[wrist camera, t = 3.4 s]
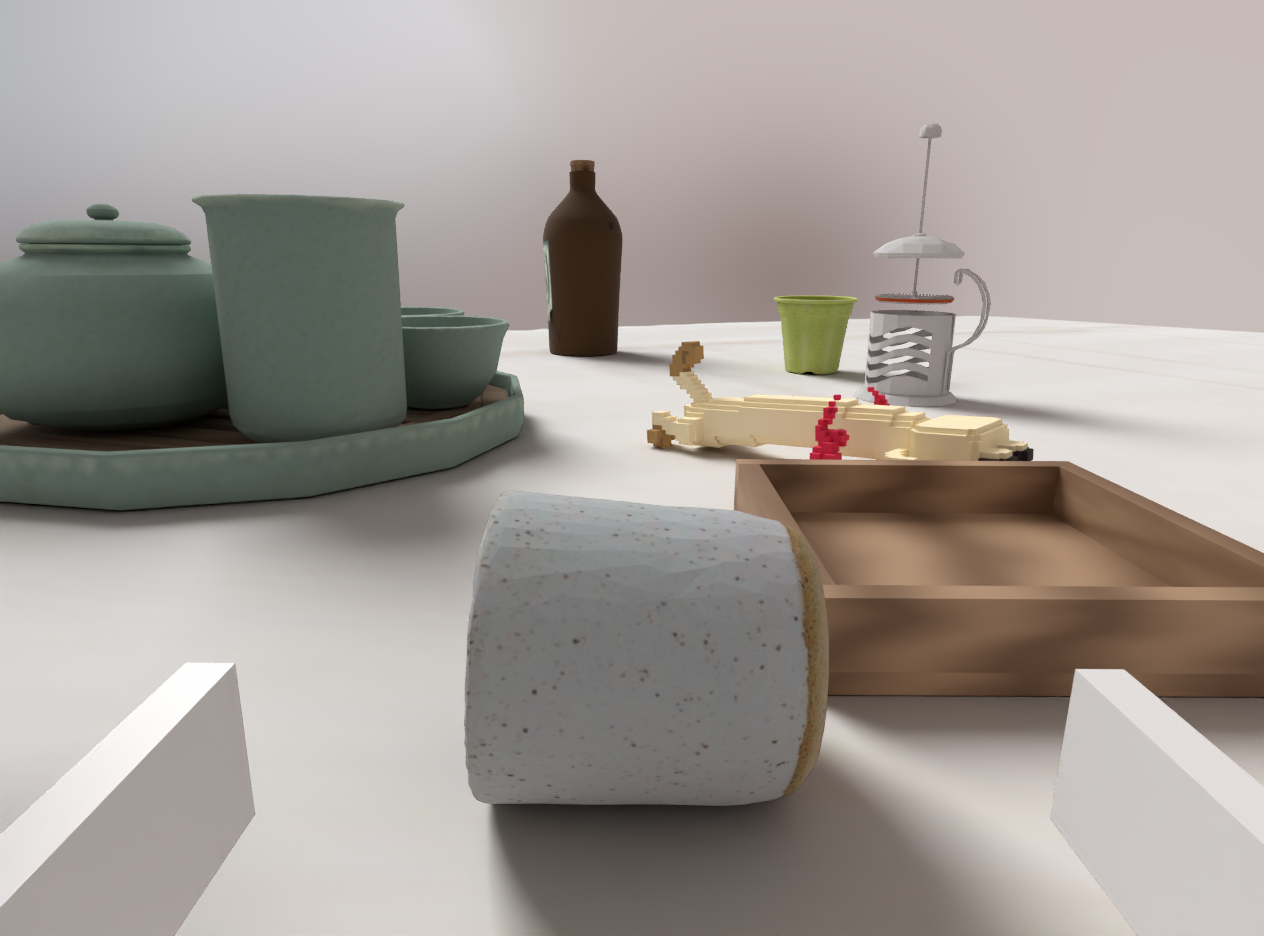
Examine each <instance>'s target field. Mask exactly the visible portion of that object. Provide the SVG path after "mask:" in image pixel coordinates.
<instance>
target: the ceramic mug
mask: <svg viewBox="0 0 1264 936" xmlns="http://www.w3.org/2000/svg"><path fill="white" fill-rule="evenodd" d="M828 682H829V632H828V621H827V612H826V604H825V595H824V589H823V584H822V580H821V575H820V572H819V568H818V565H817V562H816V559H815V557H814V554H813V552H812V550H811V548H810V546H809V545H808V544H807V543H806V542H805V540H804V539H803V538H802V537H801V535H800V534H799V533H798V532H797V531H796V530H795V529H794V528H792V527H790V526H788V525H786V524H784V523H782V522H779V521H775V520H771V519H766V518H762V517H758V516H754V515H751V514H747V513H744V512H740V511H733V510H721V509H707V508H693V507H670V506H659V505H650V504H641V503H632V502H623V501H613V500H603V499H592V498H581V497H571V496H560V495H549V494H539V493H530V492H520V491H508V492H504V493H503V494H501V495H500V497H499V498H498V499H497V500H496V502H495V504H494V505H493V508H492V510H491V513H490V517H489V519H488V522H487V525H486V528H485V530H484V534H483V537H482V541H481V545H480V548H479V552H478V557H477V562H476V568H475V575H474V586H473V601H472V607H471V612H470V617H469V627H468V638H467V665H466V678H465V721H464V726H465V747H466V767H467V769H468V783H469V786H470V788H471V791H472V793H473V795H474V797H475V798H476V799H477V800H479V801H481V802H483V803H489V804H585V805H614V804H664V805H704V806H730V805H744V804H750V803H757V802H763V801H770V800H774V799H777V798H781V797H784V796H787V795H789V794H791V793H793V792H794V791H795V790H796V789H797V788H799V787H800V786H801V785H802V783H803V782H804V781H805V779H806V778H807V776H808V775H809V773H810V772H811V770H812V769H813V767H814V765H815V763H816V760H817V758H818V755H819V752H820V747H821V742H822V737H823V732H824V726H825V718H826V710H827V698H828Z"/></svg>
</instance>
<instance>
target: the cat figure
mask: <svg viewBox="0 0 1264 936" xmlns="http://www.w3.org/2000/svg"><path fill="white" fill-rule="evenodd" d="M675 352H676V355H672V358H673V363H670V376H673V380H675V381H677V385H680V389H687V394H690V398H694V402H693V403H691V405H686V406H684V417H683V418H678V420H676V416H670V411H656V412H652V425H653V429H650V430H647V439H648V443H653V446H656V447H660V448H666V447H669V446H671V440H674V439H676V441H679V444H683V445H699V446H709V447H718V448H720V447H724V446H728V445H741V446H751V447H758V446H761V445H765V444H776V445H786V446H797V447H807V448H813V452H812V453H810V460H842V456H850V457H860V458H870V459H876V460H934V461H1031V460H1033V449H1029V447H1028V443H1024V442H1021V441H1009V429H1007V424H1004V423H1002V419H998V418H993V417H975V416H957V415H949V416H940V417H937V418H934V419H931V420H930V418H927V417H925V413H923V412H907V411H905V406H890V403H887V402H888V399H885V395H883V394H879V391H876V390H874V387H868V392H872V396H874V405H867V404H861V403H858V399H844V398H841V395H834V398H822V397H801V396H780V395H759V394H756V395H751V396H746V397H744V398H731V397H718V398H713V399H712V395H711V393H708V388H705V386H704V384H701V380H698V376H697V375H694V371H691V367H694V364H696V363H700V359H704V356H703V346H700V341H692V342H682V346H680V347H679V351H675Z"/></svg>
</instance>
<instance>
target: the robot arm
mask: <svg viewBox="0 0 1264 936" xmlns="http://www.w3.org/2000/svg"><path fill="white" fill-rule="evenodd" d="M254 815H255V810H254V803H253V795H252V787H251V780H250V772H249V764H248V757H247V749H246V742H245V734H244V726H243V719H242V711H241V704H240V696H239V688H238V681H237V673H236V666H235V663H185V664H184V665H183V666H182V667H181V668H180V669H178V670H177V671H176V672H175V673H174V674H173V675H172V676H171V677H170V678H169V679H168V680H167V681H165V682H164V683H163V684H162V685H161V686H160V687H159V688H158V689H157V690H156V691H155V692H154V693H152V694H151V695H150V696H149V697H148V698H147V699H146V700H145V701H144V702H143V703H142V704H141V705H140V706H138V707H137V708H136V709H135V710H134V711H133V712H132V713H131V714H130V715H129V716H128V717H127V718H125V719H124V720H123V721H122V722H121V723H120V724H119V725H118V726H117V727H116V728H115V729H114V730H112V731H111V732H110V733H109V734H108V735H107V736H106V737H105V738H104V739H103V740H102V741H101V742H99V743H98V744H97V745H96V746H95V747H94V748H93V749H92V750H91V751H90V752H89V753H88V754H86V755H85V756H84V757H83V758H82V759H81V760H80V761H79V762H78V763H77V764H76V765H75V766H73V767H72V768H71V769H70V770H69V771H68V772H67V773H66V774H65V775H64V776H63V777H62V778H60V779H59V780H58V781H57V782H56V783H55V784H54V785H53V786H52V787H51V788H50V789H49V790H47V791H46V792H45V793H44V794H43V795H42V796H41V797H40V798H39V799H38V800H37V801H36V802H34V803H33V804H32V805H31V806H30V807H29V808H28V809H27V810H26V811H25V812H24V813H23V814H22V815H20V816H19V817H18V818H17V819H16V820H15V821H14V822H13V823H12V824H11V825H10V826H9V827H7V828H6V829H5V830H4V831H3V832H2V833H1V834H0V936H174V935H175V934H176V932H177V931H178V929H179V928H180V926H181V925H182V923H183V922H184V920H185V919H186V917H187V916H188V914H189V913H190V911H191V910H192V908H193V907H194V905H195V904H196V902H197V901H198V899H199V898H200V896H201V895H202V893H203V892H204V890H205V889H206V887H207V886H208V884H209V883H210V881H211V880H212V878H213V877H214V875H215V874H216V872H217V871H218V869H219V868H220V866H221V865H222V863H223V862H224V860H225V859H226V857H227V856H228V854H229V853H230V851H231V850H232V848H233V847H234V845H235V844H236V842H237V841H238V839H239V838H240V836H241V835H242V833H243V832H244V830H245V829H246V827H247V826H248V824H249V823H250V821H251V820H252V818H253V817H254ZM1050 820H1051V821H1052V823H1053V824H1054V825H1055V827H1056V828H1057V829H1058V831H1059V832H1060V833H1061V835H1062V836H1063V837H1064V839H1065V840H1066V841H1067V843H1068V844H1069V845H1070V847H1071V848H1072V849H1073V851H1074V852H1075V853H1076V855H1077V856H1078V857H1079V859H1080V860H1081V861H1082V863H1083V864H1084V866H1085V867H1086V868H1087V870H1088V871H1089V872H1090V874H1091V875H1092V876H1093V878H1094V879H1095V880H1096V882H1097V883H1098V884H1099V886H1100V887H1101V888H1102V890H1103V891H1104V892H1105V894H1106V895H1107V896H1108V898H1109V899H1110V900H1111V902H1112V903H1113V904H1114V906H1115V907H1116V909H1117V910H1118V911H1119V913H1120V914H1121V915H1122V917H1123V918H1124V919H1125V921H1126V922H1127V923H1128V925H1129V926H1130V927H1131V929H1132V930H1133V931H1134V933H1135V934H1136V935H1137V936H1264V786H1262V785H1261V784H1260V783H1259V782H1258V781H1256V780H1255V779H1254V778H1253V777H1252V776H1250V775H1249V774H1248V773H1247V772H1246V771H1245V770H1243V769H1242V768H1241V767H1240V766H1239V765H1237V764H1236V763H1235V762H1234V761H1233V760H1231V759H1230V758H1229V757H1228V756H1227V755H1225V754H1224V753H1223V752H1222V751H1221V750H1220V749H1218V748H1217V747H1216V746H1215V745H1214V744H1212V743H1211V742H1210V741H1209V740H1208V739H1206V738H1205V737H1204V736H1203V735H1202V734H1200V733H1199V732H1198V731H1197V730H1196V729H1195V728H1193V727H1192V726H1191V725H1190V724H1189V723H1187V722H1186V721H1185V720H1184V719H1183V718H1181V717H1180V716H1179V715H1178V714H1177V713H1175V712H1174V711H1173V710H1172V709H1171V708H1169V707H1168V706H1167V705H1166V704H1165V703H1164V702H1162V701H1161V700H1160V699H1159V698H1158V697H1156V696H1155V695H1154V694H1153V693H1152V692H1150V691H1149V690H1148V689H1147V688H1146V687H1144V686H1143V685H1142V684H1141V683H1140V682H1139V681H1137V680H1136V679H1135V678H1134V677H1133V676H1131V675H1130V674H1129V673H1128V672H1127V671H1125V670H1124V669H1075V674H1074V680H1073V686H1072V692H1071V698H1070V704H1069V709H1068V715H1067V721H1066V727H1065V733H1064V739H1063V745H1062V751H1061V756H1060V762H1059V768H1058V774H1057V780H1056V786H1055V792H1054V797H1053V803H1052V809H1051V815H1050Z"/></svg>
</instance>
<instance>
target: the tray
mask: <svg viewBox="0 0 1264 936" xmlns="http://www.w3.org/2000/svg"><path fill="white" fill-rule="evenodd" d="M734 511H740V512H744V513H747V514H751V515H754V516H758V517H762V518H766V519H771V520H775V521H779V522H782V523H784V524H786V525H788V526H790V527H792V528H794V529H795V530H796V531H797V532H798V533H799V534H800V535H801V537H802V538H803V539H804V540H805V542H806V543H807V544H808V545H809V546H810V548H811V550H812V552H813V554H814V557H815V559H816V562H817V565H818V568H819V572H820V575H821V580H822V584H823V589H824V595H825V604H826V612H827V621H828V632H829V682H828V695H957V696H1071V692H1072V686H1073V680H1074V674H1075V669H1124V670H1125V671H1127V672H1128V673H1129V674H1130V675H1131V676H1133V677H1134V678H1135V679H1136V680H1137V681H1139V682H1140V683H1141V684H1142V685H1143V686H1144V687H1146V688H1147V689H1148V690H1149V691H1150V692H1152V693H1153V694H1154V695H1155V696H1181V697H1264V553H1262V552H1260V551H1258V550H1256V549H1253V548H1251V547H1249V546H1247V545H1245V544H1243V543H1241V542H1238V541H1236V540H1234V539H1232V538H1230V537H1228V536H1226V535H1224V534H1221V533H1219V532H1217V531H1215V530H1213V529H1211V528H1209V527H1207V526H1204V525H1202V524H1200V523H1198V522H1196V521H1194V520H1192V519H1189V518H1187V517H1185V516H1183V515H1181V514H1179V513H1177V512H1175V511H1172V510H1170V509H1168V508H1166V507H1164V506H1162V505H1160V504H1158V503H1155V502H1153V501H1151V500H1149V499H1147V498H1145V497H1143V496H1141V495H1138V494H1136V493H1134V492H1132V491H1130V490H1128V489H1126V488H1123V487H1121V486H1119V485H1117V484H1115V483H1113V482H1111V481H1109V480H1106V479H1104V478H1102V477H1100V476H1098V475H1096V474H1094V473H1092V472H1089V471H1087V470H1085V469H1083V468H1081V467H1079V466H1077V465H1075V464H1072V463H1070V462H1066V461H934V460H802V459H736V475H735V498H734Z"/></svg>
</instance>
